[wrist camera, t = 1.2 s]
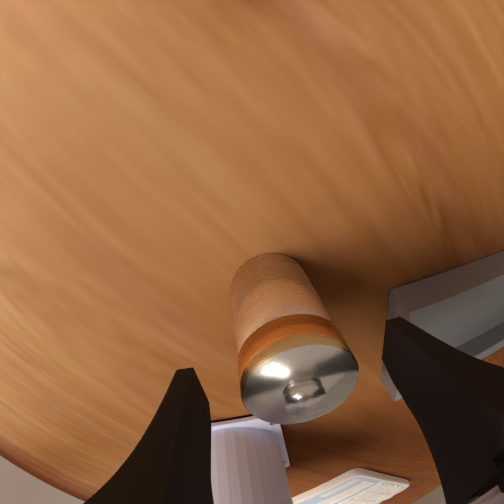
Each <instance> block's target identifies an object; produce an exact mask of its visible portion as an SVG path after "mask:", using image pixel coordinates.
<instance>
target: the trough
mask: <svg viewBox="0 0 504 504" xmlns="http://www.w3.org/2000/svg"><path fill="white" fill-rule="evenodd" d="M399 316H400V317H402V318H404V319H405V320H407V321H409V322H411V323H412V324H414V325H416V326H417V327H419V328H421V329H422V330H424V331H426V332H427V333H429V334H431V335H432V336H434V337H436V338H438V339H439V340H441V341H443V342H445V343H447V344H448V345H450V346H452V347H454V348H456V349H458V350H460V351H462V352H464V353H466V354H468V355H471V356H473V357H475V358H478V359H480V360H482V359H483V358H485V357H487V356H488V355H490V354H492V353H493V352H495V351H497V350H498V349H500V348H501V347H503V346H504V250H503V251H500V252H497V253H495V254H492V255H490V256H487V257H484V258H482V259H479V260H476V261H474V262H471V263H468V264H465V265H463V266H460V267H457V268H454V269H451V270H448V271H446V272H443V273H440V274H437V275H434V276H431V277H428V278H425V279H422V280H419V281H415V282H412V283H409V284H406V285H403V286H400V287H396V288H393V289H390V290H389V304H388V318H387V320H390V319H393V318H396V317H399ZM381 380H382V381H383V383H384V385H385V387H386V388H387V390H388V392H389V393H390V395H391V397H392V399H393V400H394V402H395V401H397V400H400V399H402V396H401V395H400V393H399V391H398V390H397V388H396V386H395V385H394V383H393V382H392V380H391V378H390V376H389V374H388V371H387V369H386V367H385V365H384V362H383V365H382V373H381Z"/></svg>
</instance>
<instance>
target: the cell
mask: <svg viewBox="0 0 504 504" xmlns="http://www.w3.org/2000/svg"><path fill="white" fill-rule="evenodd" d="M231 302H232V311H233V319H234V328H235V337H236V345H237V354H238V360H237V362H238V373H239V381H240V389H241V397H242V402H243V404H244V406H245V407H246V409H247V410H248V411H249V412H250V413H251V414H252V415H253V416H255V417H256V418H258V419H260V420H262V421H265V422H269V423H273V424H297V423H302V422H307V421H310V420H313V419H316V418H319V417H321V416H323V415H325V414H327V413H329V412H330V411H332V410H334V409H335V408H337V407H338V406H339V405H340V404H342V403H343V402H344V401H345V400H346V399H347V398H348V396H349V395H350V394H351V392H352V391H353V389H354V387H355V385H356V383H357V380H358V373H359V368H358V363H357V361H356V359H355V357H354V355H353V353H352V352H351V350H350V348H349V346H348V345H347V343H346V341H345V339H344V337H343V336H342V334H341V332H340V330H339V329H338V328H337V326H336V325H335V324H334V322H333V321H332V319H331V317H330V315H329V314H328V312H327V310H326V308H325V307H324V305H323V303H322V301H321V300H320V298H319V296H318V294H317V293H316V291H315V289H314V287H313V286H312V284H311V282H310V281H309V279H308V277H307V275H306V274H305V272H304V270H303V269H302V267H301V266H300V265H299V264H298V263H297V262H296V261H295V260H293V259H292V258H290V257H288V256H285V255H281V254H274V253H273V254H263V255H259V256H256V257H254V258H252V259H250V260H248V261H247V262H246V263H244V264H243V265H242V266H241V267H240V268H239V269H238V270H237V272H236V273H235V275H234V277H233V279H232V283H231Z"/></svg>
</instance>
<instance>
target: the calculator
mask: <svg viewBox="0 0 504 504" xmlns="http://www.w3.org/2000/svg"><path fill="white" fill-rule="evenodd" d="M409 485H410V484H409V481H408V480H407V479H403V478H398V477H394V476H390V475H386V474H382V473H378V472H374V471H370V470H367V469H363V468H355V469H352V470H350V471H347V472H345V473H343V474H341V475H340V476H338V477H336V478H334V479H332V480H330V481H328V482H326V483H324V484H322V485H319V486H317V487H315V488H313V489H311V490H309V491H306V492H304V493H302V494H300V495H297V496H295V497H292V501H293V504H379V503H380V502H382V501H384V500H387V499H389V498H391V497H392V496H393V495H395V494H397V493H399V492H401V491H403V490H405V489H406V488H407V487H408V486H409Z"/></svg>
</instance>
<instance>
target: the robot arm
mask: <svg viewBox="0 0 504 504" xmlns="http://www.w3.org/2000/svg"><path fill="white" fill-rule="evenodd" d="M382 360H383V362H384V365H385V367H386V369H387V371H388V374H389V376H390V378H391V380H392V382H393V383H394V385H395V386H396V388H397V390H398V391H399V393H400V395H401V396H402V398H403V399H404V401H405V403H406V404H407V406H408V407H409V409H410V411H411V412H412V414H413V415H414V417H415V419H416V420H417V422H418V424H419V426H420V428H421V430H422V432H423V434H424V437H425V439H426V441H427V444H428V446H429V449H430V451H431V454H432V456H433V459H434V462H435V465H436V468H437V471H438V474H439V477H440V480H441V484H442V488H443V492H444V496H445V500H446V504H470V503H471V504H504V368H503V367H500V366H497V365H494V364H491V363H488V362H485V361H483V360H480V359H478V358H475V357H473V356H471V355H468V354H466V353H464V352H462V351H460V350H458V349H456V348H454V347H452V346H450V345H448V344H447V343H445V342H443V341H441V340H439V339H438V338H436V337H434V336H432V335H431V334H429V333H427V332H426V331H424V330H422V329H421V328H419V327H417V326H416V325H414V324H412V323H411V322H409V321H407V320H405V319H404V318H402V317H400V316H399V317H396V318H393V319H390V320H387V321H386V325H385V336H384V346H383V354H382ZM289 466H290V463H289V458H288V454H287V450H286V446H285V442H284V437H283V433H282V429H281V425H280V424H273V423H269V422H265V421H262V420H260V419H258V418H256V417H255V416H251V417H245V418H240V419H234V420H228V421H221V422H215V423H211V416H210V407H209V401H208V399H207V397H206V395H205V392H204V390H203V388H202V386H201V384H200V382H199V379H198V377H197V375H196V373H195V370H194V368H186V369H180V370H177V371H176V372H175V374H174V376H173V379H172V381H171V383H170V385H169V388H168V390H167V392H166V394H165V396H164V398H163V400H162V402H161V404H160V406H159V408H158V410H157V412H156V414H155V416H154V418H153V419H152V421H151V423H150V425H149V426H148V428H147V430H146V431H145V433H144V435H143V437H142V438H141V440H140V441H139V443H138V444H137V446H136V447H135V449H134V450H133V451H132V453H131V454H130V456H129V457H128V458H127V460H126V461H125V462H124V463H123V465H122V466H121V467H120V468H119V469H118V471H117V472H116V473H115V474H114V475H113V476H112V477H111V479H110V480H109V481H108V482H107V483H106V484H105V485H104V486H103V487H101V488H100V489H99V490H98V491H97V492H96V493H95V494H94V495H93V496H92V497H91V498H90V499H88V500H87V501H86V502H85V503H84V504H293V501H292V496H291V492H290V487H289V483H288V479H287V474H286V470H285V468H287V467H289ZM476 499H477V500H476ZM473 501H474V502H473Z"/></svg>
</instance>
